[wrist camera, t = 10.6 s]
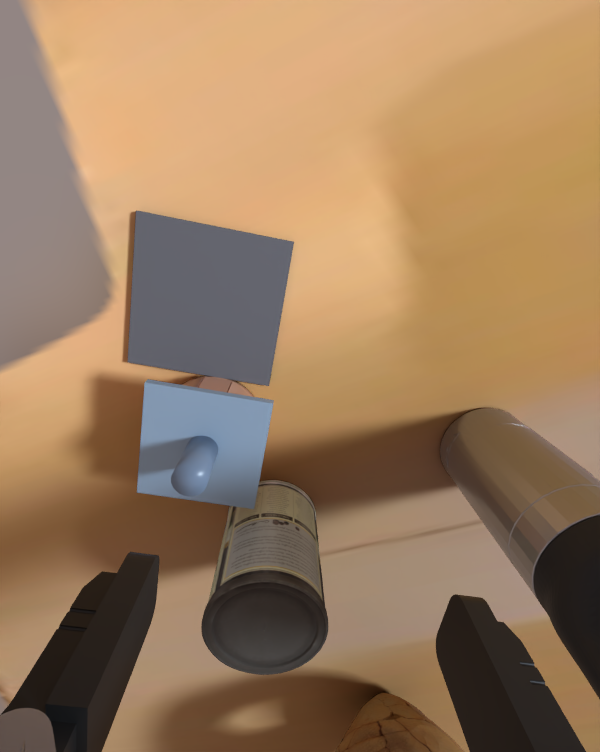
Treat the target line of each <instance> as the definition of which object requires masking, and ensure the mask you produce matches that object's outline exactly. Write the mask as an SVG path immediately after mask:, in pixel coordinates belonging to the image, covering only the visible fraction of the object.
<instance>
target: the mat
mask: <svg viewBox="0 0 600 752" xmlns="http://www.w3.org/2000/svg"><path fill="white" fill-rule="evenodd" d="M293 244H294V242H292V241H287V240H282V239H277V238H272V237H267V236H262V235H256V234H251V233H246V232H241V231H236V230H231V229H226V228H221V227H216V226H211V225H206V224H201V223H196V222H191V221H186V220H181V219H176V218H171V217H166V216H161V215H156V214H151V213H146V212H141V211H136V221H135V239H134V257H133V275H132V293H131V311H130V330H129V348H128V362H129V363H135V364H141V365H147V366H153V367H159V368H165V369H171V370H177V371H183V372H188V373H194V374H200V375H206V376H212V377H218V378H224V379H230V380H236V381H242V382H248V383H254V384H260V385H266V386H269V382H270V377H271V371H272V365H273V359H274V354H275V348H276V342H277V336H278V331H279V325H280V319H281V313H282V307H283V302H284V296H285V290H286V284H287V279H288V273H289V267H290V261H291V256H292V250H293Z"/></svg>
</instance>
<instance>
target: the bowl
mask: <svg viewBox="0 0 600 752" xmlns="http://www.w3.org/2000/svg"><path fill="white" fill-rule="evenodd" d="M335 752H464V751H463V750H462V749H461V748H460V746H459V745H458V744H457V743H456V742H455V741H454V740H453V739H452V738H451V737H450V736H449V735H448V734H446V733H445V732H444V731H443V730H442V729H441V728H439V727H438V726H437V725H436V724H435V723H434V722H432V721H431V720H430V719H428V718H427V717H426V716H425V715H424V714H423V713H422V712H421V711H420V710H418V709H417V708H416V707H415V706H413V705H412V704H410V703H409V702H407V701H405V700H403V699H402V698H400V697H397V696H395V695H392V694H388V693H380V694H377V695H376V696H375V697H373V698H372V699H371V700H370V701H368V702H367V703H366V704H365V705H364V706H363V707H362V708H361V710H360V711H359V712H358V714H357V716H356V718H355V719H354V721H353V722H352V724H351V726H350V728H349V729H348V731H347V732H346V734H345V736H344V738H343V740H342V742H341V743H340V745H339V746H338V748H337V750H336V751H335Z"/></svg>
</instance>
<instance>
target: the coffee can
mask: <svg viewBox="0 0 600 752" xmlns="http://www.w3.org/2000/svg"><path fill="white" fill-rule="evenodd" d="M327 633H328V617H327V612H326V609H325V602H324V593H323V582H322V573H321V565H320V555H319V545H318V535H317V525H316V511H315V507H314V504H313V502H312V501H311V499H310V498H309V496H308V495H307V494H306V493H305V492H304V491H303V490H301V489H300V488H298V487H297V486H295V485H293V484H291V483H288V482H283V481H279V480H265V481H260V482H259V485H258V491H257V496H256V502H255V507H254V509H249V508H242V507H235V506H230V507H229V510H228V518H227V523H226V527H225V531H224V535H223V540H222V545H221V549H220V553H219V558H218V562H217V566H216V571H215V574H214V579H213V584H212V588H211V592H210V597H209V601H208V604H207V606H206V609H205V611H204V615H203V619H202V636H203V639H204V642H205V644H206V646H207V647H208V649H209V650H210V651H211V653H212V654H213V655H214V656H215V657H216V658H217V659H218V660H219V661H221V662H222V663H224V664H225V665H227V666H229V667H231V668H234V669H236V670H239V671H243V672H246V673H252V674H260V675H269V674H278V673H283V672H287V671H290V670H293V669H295V668H298V667H300V666H302V665H303V664H305V663H307V662H308V661H309V660H311V659H312V658H313V657H314V656H315V655H316V654H317V653H318V652H319V651H320V649H321V648H322V646H323V644H324V643H325V640H326V637H327Z"/></svg>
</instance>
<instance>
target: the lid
mask: <svg viewBox="0 0 600 752" xmlns="http://www.w3.org/2000/svg"><path fill="white" fill-rule="evenodd" d="M273 402H274V400H269V399H263V398H257V397H251V396H245V395H239V394H233V393H227V392H221V391H215V390H209V389H203V388H197V387H191V386H185V385H179V384H173V383H167V382H161V381H155V380H149V379H148V380H147V381H146V382H145V385H144V399H143V413H142V427H141V441H140V455H139V469H138V484H137V493H144V494H151V495H158V496H165V497H172V498H179V499H186V500H193V501H200V502H207V503H214V504H221V505H228V506H235V507H242V508H249V509H254V507H255V502H256V496H257V491H258V485H259V480H260V474H261V469H262V463H263V458H264V452H265V447H266V441H267V436H268V430H269V425H270V419H271V413H272V408H273Z"/></svg>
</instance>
